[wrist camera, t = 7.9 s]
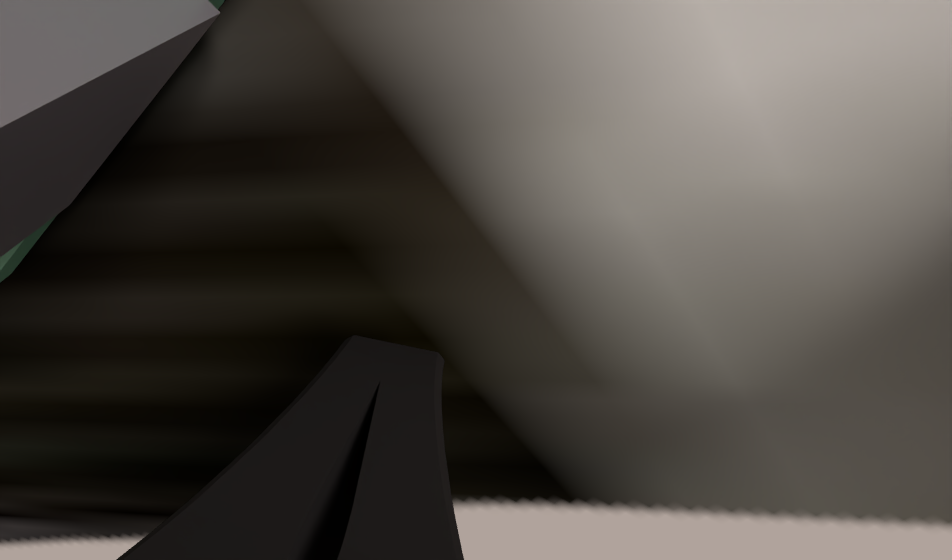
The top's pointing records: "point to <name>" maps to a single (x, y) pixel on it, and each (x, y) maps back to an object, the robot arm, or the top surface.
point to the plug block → (78, 92)
